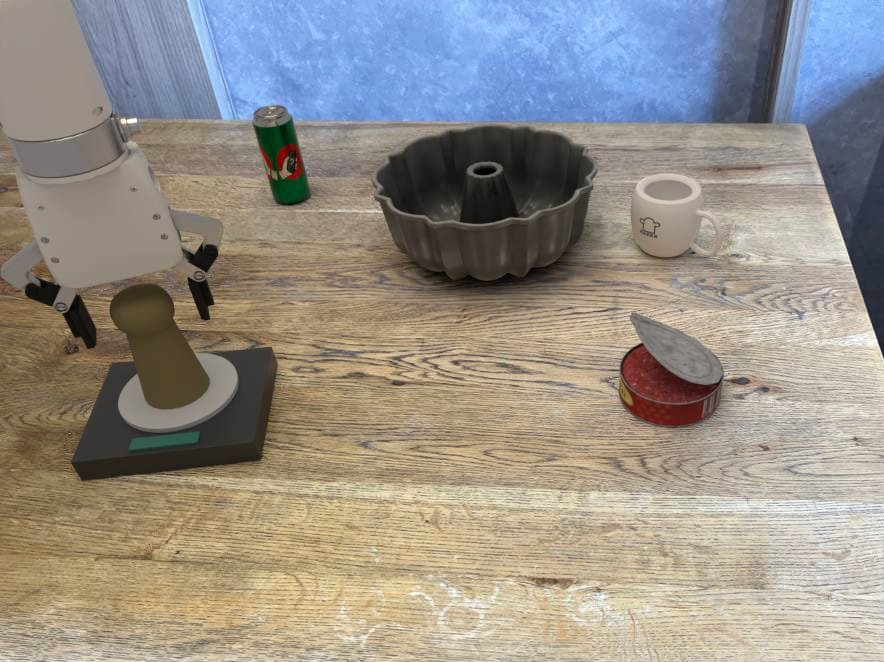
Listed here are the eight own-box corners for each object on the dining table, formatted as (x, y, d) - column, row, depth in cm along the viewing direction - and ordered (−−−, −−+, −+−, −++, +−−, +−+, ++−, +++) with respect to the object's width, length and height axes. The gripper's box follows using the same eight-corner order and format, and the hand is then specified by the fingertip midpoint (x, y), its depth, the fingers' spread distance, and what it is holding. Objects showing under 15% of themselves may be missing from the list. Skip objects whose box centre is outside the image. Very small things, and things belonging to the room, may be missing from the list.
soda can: (316, 189, 114) (296, 104, 106) (302, 206, 110) (280, 120, 102) (282, 187, 114) (260, 102, 106) (267, 204, 111) (243, 118, 103)
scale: (81, 480, 74) (67, 457, 72) (120, 381, 84) (109, 358, 82) (261, 460, 75) (252, 437, 73) (277, 364, 85) (270, 341, 83)
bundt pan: (398, 195, 112) (386, 124, 105) (590, 188, 111) (591, 116, 104) (370, 308, 92) (353, 230, 85) (603, 300, 92) (605, 221, 85)
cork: (138, 413, 76) (90, 317, 68) (151, 372, 80) (107, 278, 73) (205, 405, 76) (164, 308, 69) (214, 364, 81) (176, 270, 73)
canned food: (636, 397, 86) (648, 303, 84) (729, 418, 82) (745, 319, 79) (591, 418, 76) (604, 313, 74) (694, 443, 72) (712, 332, 70)
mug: (615, 249, 100) (616, 189, 94) (656, 221, 104) (660, 163, 99) (698, 283, 93) (704, 222, 88) (737, 252, 98) (746, 192, 93)
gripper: (184, 105, 67) (242, 281, 78) (-52, 146, 62) (47, 327, 74) (192, 141, 61) (253, 324, 73) (-65, 189, 57) (43, 376, 68)
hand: (149, 325), depth 73 cm, fingers open, 9 cm apart
